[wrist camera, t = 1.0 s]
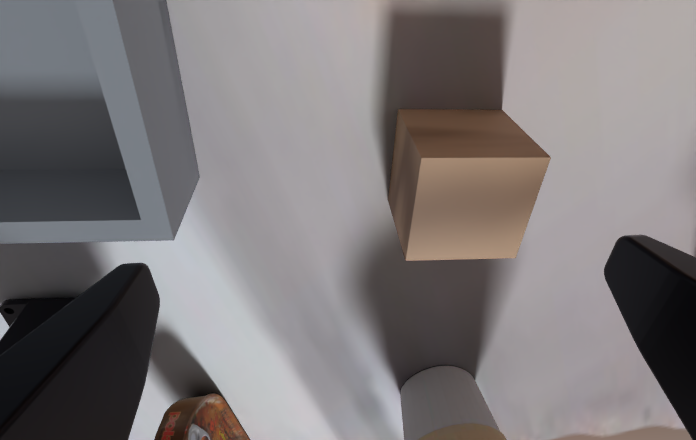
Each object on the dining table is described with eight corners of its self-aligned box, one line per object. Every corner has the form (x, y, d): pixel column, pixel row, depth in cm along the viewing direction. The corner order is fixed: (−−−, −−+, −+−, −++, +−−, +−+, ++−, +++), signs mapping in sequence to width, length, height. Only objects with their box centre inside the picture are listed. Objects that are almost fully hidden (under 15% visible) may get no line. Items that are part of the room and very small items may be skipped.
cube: (478, 197, 23) (515, 258, 19) (387, 199, 22) (405, 260, 18) (501, 109, 20) (550, 157, 16) (397, 108, 20) (421, 157, 16)
